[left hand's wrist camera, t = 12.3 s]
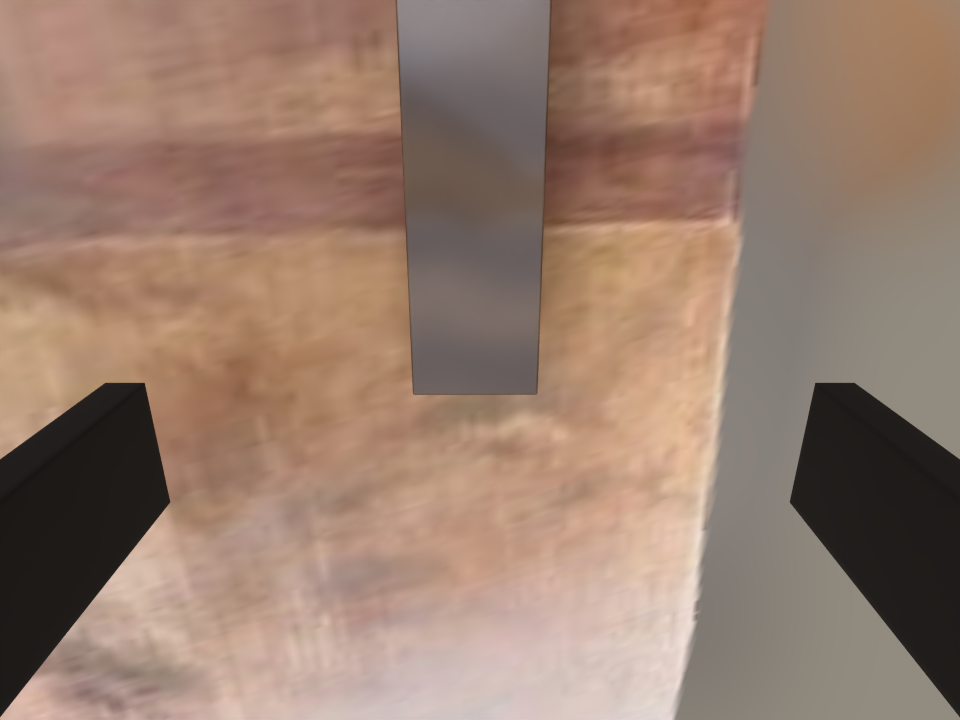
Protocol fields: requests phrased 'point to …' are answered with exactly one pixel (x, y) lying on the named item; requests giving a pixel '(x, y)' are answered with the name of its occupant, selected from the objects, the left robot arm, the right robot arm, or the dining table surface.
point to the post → (474, 190)
